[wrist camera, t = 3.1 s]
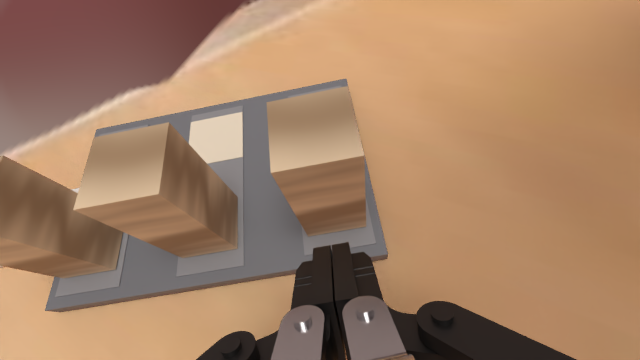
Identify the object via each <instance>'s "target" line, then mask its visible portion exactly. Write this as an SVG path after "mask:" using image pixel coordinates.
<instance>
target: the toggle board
mask: <svg viewBox="0 0 640 360" xmlns="http://www.w3.org/2000/svg"><path fill="white" fill-rule="evenodd" d="M345 86H348V84H347V80H346V79H342V80H337V81H332V82H327V83H322V84H317V85H312V86H307V87H302V88H298V89H293V90H288V91H283V92H278V93H273V94H268V95H263V96H258V97H253V98H249V99H244V100H239V101H234V102H229V103H224V104H219V105H214V106H209V107H204V108H200V109H195V110H190V111H185V112H180V113H175V114H170V115H165V116H160V117H155V118H151V119H146V120H141V121H136V122H131V123H126V124H121V125H116V126H111V127H106V128H102V129H97V130H96V133H95V137H99V136H104V135H109V134H113V133H118V132H123V131H128V130H133V129H138V128H143V127H148V126H153V125H158V124H163V123H168V122H169V123H170V124H171V125H172V126H173V127H174V128H175V129H176V130H177V132H178V133H179V134H180V135H181V136H182V137H183V138H184V139H185V140H186V141H187V142H188V144H189V145H190V146H191V147H192V148H193V149H194V150H195V151H196V152H197V153H198V154H199V156H200V157H201V158H202V159H203V160H204V161H205V162H206V163H207V164H208V165H209V166H210V167H211V169H212V170H213V171H214V172H215V173H216V174H217V175H218V176H219V177H220V178H221V179H222V181H223V182H224V183H225V184H226V185H227V186H228V187H229V188H230V189H231V190H232V191H233V193H234V194H235V195H236V196H237V197H238V249H233V250H228V251H222V252H216V253H210V254H204V255H198V256H192V257H187V258H181V257H179V256H176V255H174V254H172V253H170V252H167V251H165V250H163V249H161V248H158V247H156V246H154V245H152V244H149V243H147V242H145V241H142V240H140V239H138V238H136V237H133V236H131V235H129V234H127V233H124V232H123V234H122V239H121V245H120V250H119V255H118V260H117V265H116V270H110V271H104V272H98V273H93V274H87V275H81V276H75V277H69V278H59V277H54V281H53V284H52V288H51V291H50V295H49V298H48V302H47V305H46V309H45V311H54V312H64V311H70V310H76V309H82V308H88V307H94V306H101V305H107V304H113V303H119V302H125V301H131V300H137V299H143V298H150V297H156V296H162V295H168V294H174V293H180V292H186V291H192V290H198V289H205V288H211V287H217V286H223V285H229V284H235V283H241V282H247V281H253V280H260V279H266V278H272V277H278V276H284V275H290V274H296V270H297V269H298V267H299V266H300V265H301V263H302V262H305V261H311V260H312V259H313V248H316V247H322V246H328V245H331V249H332V245H333V244H339V243H345V242H349V246H350V251H351V254H352V253H358V252H365V253H366V254H367V255H368V256H369V257H371V260H372V261H376V260H382V259H387V257H388V252H387V248H386V244H385V240H384V235H383V231H382V227H381V223H380V219H379V214H378V210H377V206H376V202H375V198H374V193H373V189H372V185H371V181H370V177H369V172H368V168H367V164H366V160H365V155H364V161H365V196H366V227H361V228H355V229H350V230H344V231H338V232H332V233H326V234H320V235H315V236H309V237H308V235H307V234H306V232H305V230H304V229H303V227H302V225H301V223H300V222H299V220H298V218H297V217H296V215H295V213H294V212H293V210H292V208H291V207H290V205H289V203H288V201H287V200H286V198H285V196H284V195H283V193H282V191H281V190H280V188H279V186H278V184H277V183H276V181H275V179H274V178H273V176H272V174H271V170H270V152H269V135H268V118H267V102H271V101H276V100H281V99H286V98H291V97H296V96H301V95H306V94H311V93H316V92H320V91H325V90H330V89H335V88H340V87H345ZM348 89H349V88H348ZM349 93H350V92H349ZM352 106H353V105H352ZM353 110H354V109H353ZM354 114H355V113H354ZM357 127H358V126H357ZM358 131H359V130H358ZM359 135H360V134H359ZM362 148H363V147H362ZM363 152H364V151H363Z"/></svg>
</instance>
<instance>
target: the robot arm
mask: <svg viewBox="0 0 640 360" xmlns="http://www.w3.org/2000/svg"><path fill="white" fill-rule="evenodd" d="M344 345H345V346H344ZM345 349H346V354H347V359H348V360H576V359H574V358H572V357H569V356H567V355H565V354H563V353H561V352H558V351H556V350H554V349H552V348H550V347H548V346H545V345H543V344H541V343H539V342H537V341H534V340H532V339H530V338H528V337H526V336H523V335H521V334H519V333H517V332H515V331H512V330H510V329H508V328H506V327H504V326H502V325H499V324H497V323H495V322H493V321H491V320H488V319H486V318H484V317H482V316H480V315H477V314H475V313H473V312H471V311H469V310H466V309H464V308H462V307H460V306H458V305H455V304H453V303H450V302H445V301H434V302H429V303H427V304H425V305H423V306H422V307H420V309H419V310H418V312H417V315H416V314H406V313H401V312H397V311H395V310H393V309H391V308H390V307H388V306H387V305H386V303H385V302H384V300H383V298H382V294H381V291H380V287H379V284H378V281H377V277H376V274H375V270H374V267H373V264H372V260H371V257H369V256H368V255H367V254H366V253H365V252H358V253H352V254H351V251H350V246H349V242H345V243H339V244H333V245H332V249H331V245H328V246H322V247H316V248H313V259H312V260H311V261H305V262H302V263H301V265H300V266H299V267H298V269H297V270H296V277H295V284H294V291H293V298H292V305H291V311H289V312H288V313H287V314H286V315H285V316H284V317H283V319H282V321H281V324H280V327H279V330H278V331H276V332H275V333H273V334H271V335H269V336H266V337H264V338H261V339H259V340H257V341H256V340H255V338H254V336H253V335H252V334H251V333H249V332H246V331H238V332H233V333H231V334H228V335H226V336H225V337H223V338H221V339H220V340H219V341H218V342H216V343H215V344H214V345H213V346H212V347H210V348H209V349H208V350H207V351H206V352H205V353H203V354H202V355H201V356H200V357H199V358H197V359H196V360H346V358H345Z"/></svg>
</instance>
